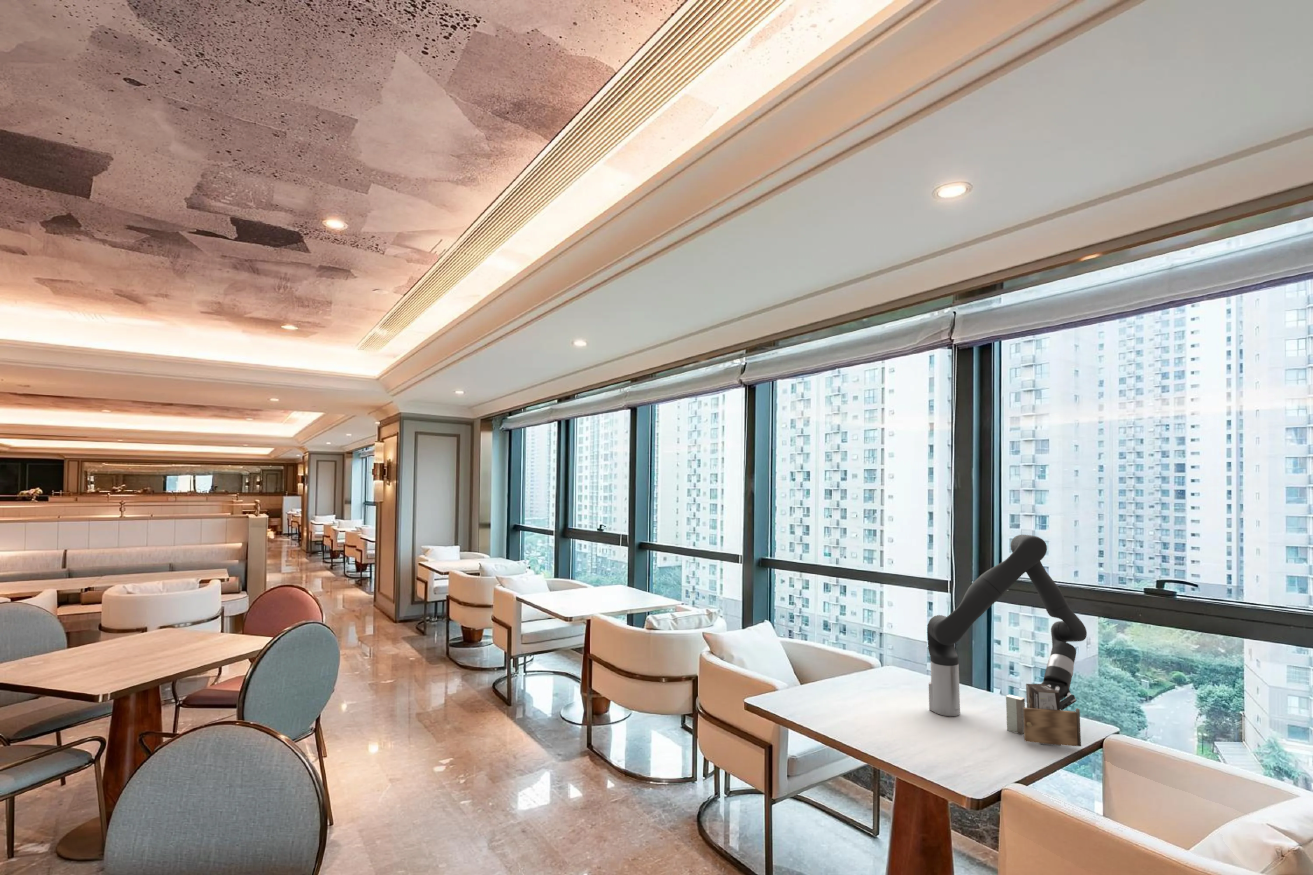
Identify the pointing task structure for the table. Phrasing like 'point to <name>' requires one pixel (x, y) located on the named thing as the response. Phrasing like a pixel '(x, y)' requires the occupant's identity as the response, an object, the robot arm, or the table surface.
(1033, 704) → the coffee box
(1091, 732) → the table surface
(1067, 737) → the wooden slab
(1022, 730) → the grey tall block
